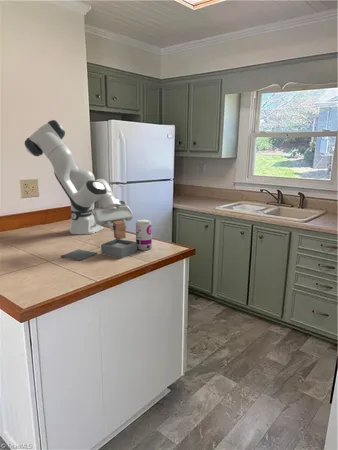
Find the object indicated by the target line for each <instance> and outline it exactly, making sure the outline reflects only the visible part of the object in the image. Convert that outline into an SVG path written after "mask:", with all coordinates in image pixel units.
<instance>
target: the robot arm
mask: <svg viewBox="0 0 338 450" xmlns="http://www.w3.org/2000/svg"><path fill="white" fill-rule="evenodd" d="M65 135H66V131H65V129H64V126H63V125H62V123H60V122H59V121H57V120H54V119H51V120H49V121H48V122H47V123H45V124H43V125H42V126H40V127H39V128H37V130H35V131H34V132H33V133H32V134H31V135H30V136H28V137H27V138H26V139H25V141H24V146H25V149H26V151H27V152H28V153H29V154H31V155H32V156H34V157H40V156H42V155H43V154H44V156H46V159H48V160H49V162H50V163H51V165H52V168H53V171H54V172H53V173H54V176H55V179H56V180H57V181H58V183H59V186H61V188H62V189H63V191H64V192H65V195H66V196H67V198H68V199H69V202H70V226H69V227H70V228H69V233H70V234H72V235H93V234H95V232H96V233H97V232H99V231H102V230H104V226H103V225H106V226H107V227H108V228H110V230H111V231H114V230H115V227H114V226H113V222H116V221H123V222H125V229H126V228H127V224H126V223H127V222H128V221H132V220H133V217H134V213H133V211H132V210H131V208H130V206H128V203H127V201H126V200H121V199H117V198H116V197H115V196H114V193H113V190H112V188H111V186H110V184H109V183H108V181H107V180H106V179H104V178H98V179H95V175H94V173H92V172H91V171H89V170H88V169H81V168H80V167H78V165H77V164H76V162H75V158H74V156H73V153H72V151H71V150H70V148H69V147H68V146H67V145H66V144H65V143H64V142H63V138H64V137H65ZM96 202H98V204H99V207H95V208H93V209H92V208H91V207H92V205H94V204H95V203H96ZM90 208H91V209H90Z"/></svg>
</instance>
